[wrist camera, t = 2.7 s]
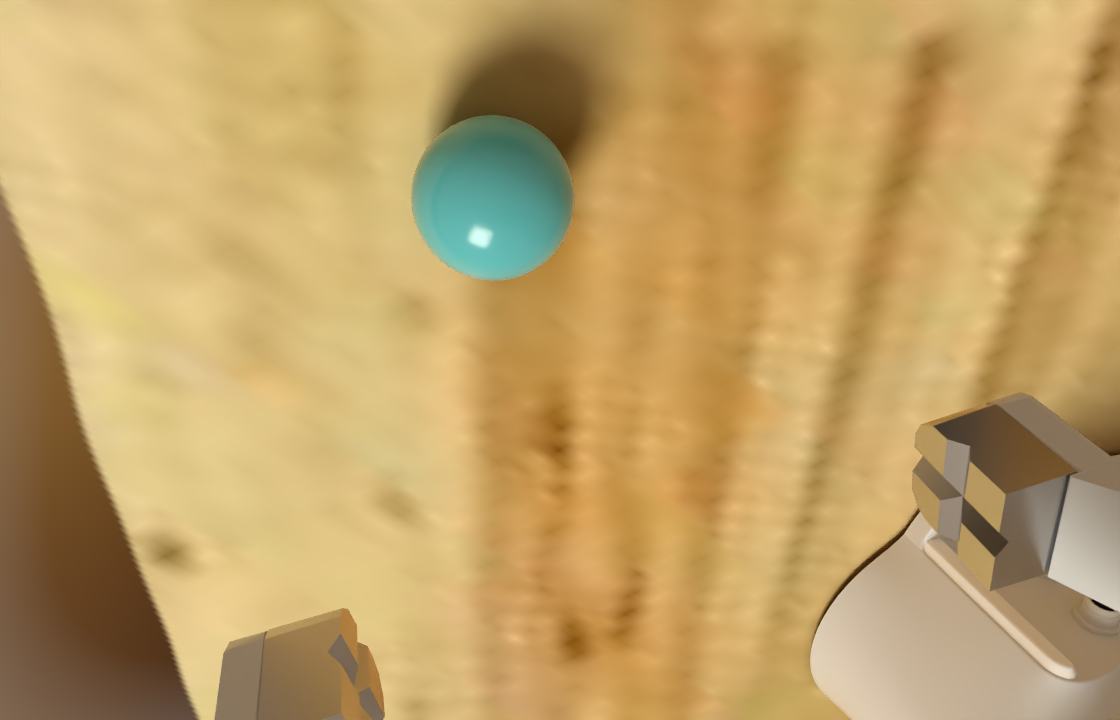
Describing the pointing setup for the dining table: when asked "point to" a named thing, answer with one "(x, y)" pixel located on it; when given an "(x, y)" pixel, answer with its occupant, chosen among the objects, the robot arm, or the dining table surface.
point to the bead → (492, 197)
